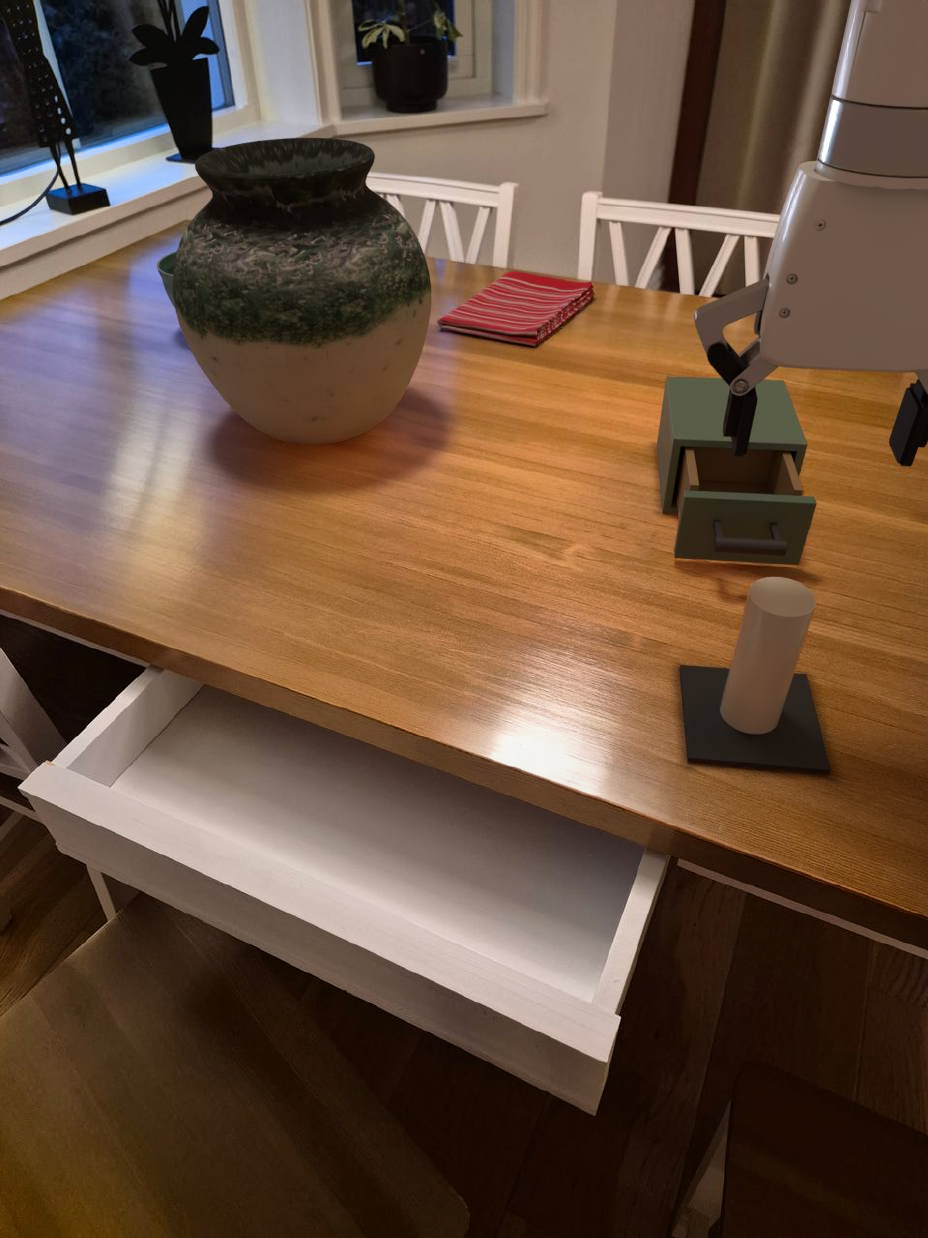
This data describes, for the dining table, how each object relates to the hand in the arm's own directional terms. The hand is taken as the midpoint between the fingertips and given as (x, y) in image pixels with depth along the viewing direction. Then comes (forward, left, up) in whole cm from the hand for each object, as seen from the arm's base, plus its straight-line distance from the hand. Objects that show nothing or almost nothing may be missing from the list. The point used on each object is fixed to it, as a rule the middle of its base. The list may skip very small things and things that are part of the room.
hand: (817, 450), depth 52 cm
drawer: (-1, -22, -21) cm, 30 cm away
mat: (0, +2, -22) cm, 22 cm away
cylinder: (0, +2, -21) cm, 21 cm away
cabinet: (-1, -34, -22) cm, 40 cm away
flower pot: (+69, -72, -22) cm, 102 cm away
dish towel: (+25, -83, -22) cm, 89 cm away
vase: (+46, -43, -22) cm, 67 cm away
